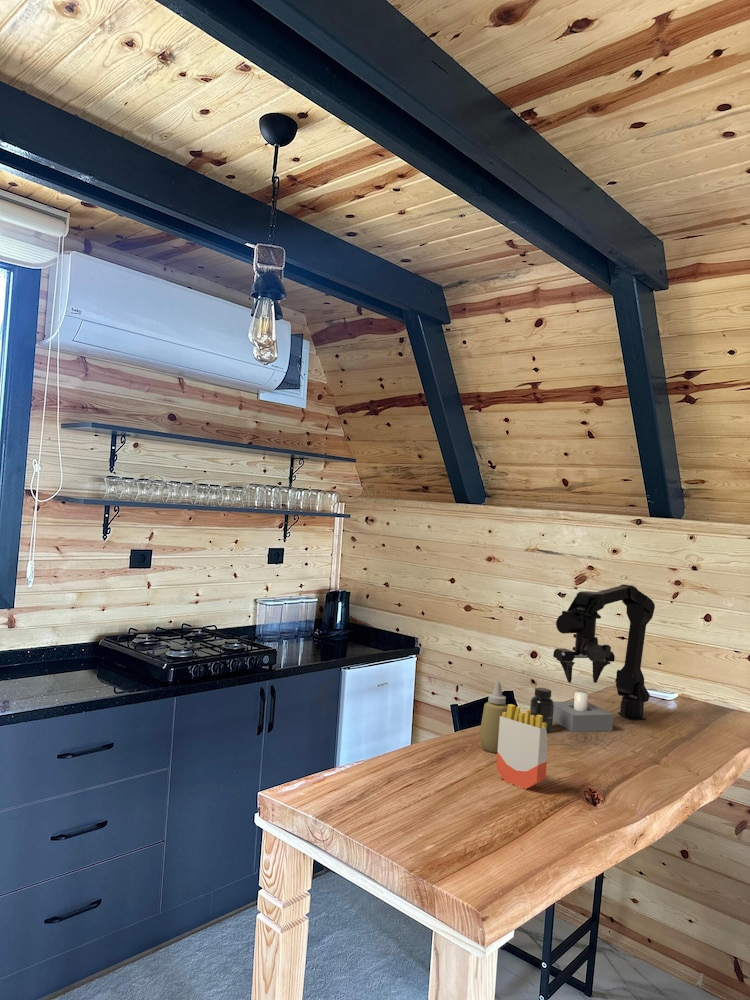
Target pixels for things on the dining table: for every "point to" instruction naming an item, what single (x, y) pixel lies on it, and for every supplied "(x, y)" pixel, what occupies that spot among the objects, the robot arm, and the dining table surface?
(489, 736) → the squeeze bottle
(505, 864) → the dining table surface
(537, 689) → the supplement bottle
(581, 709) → the peg
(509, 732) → the french fries container
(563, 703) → the socket block
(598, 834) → the dining table surface
